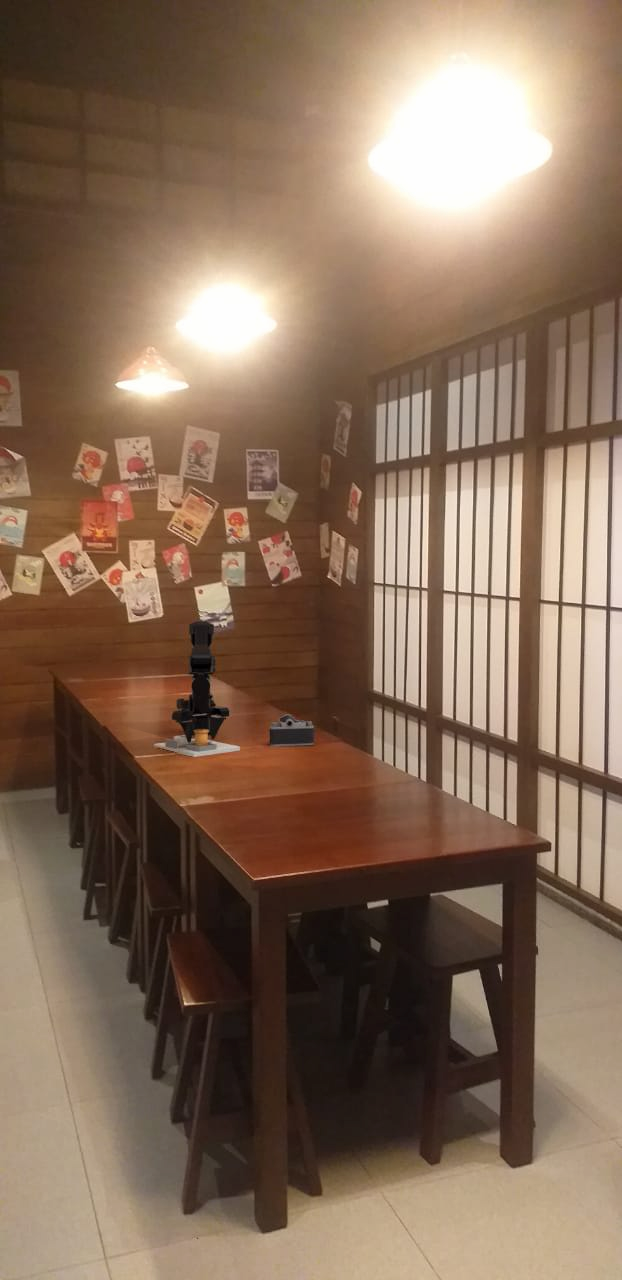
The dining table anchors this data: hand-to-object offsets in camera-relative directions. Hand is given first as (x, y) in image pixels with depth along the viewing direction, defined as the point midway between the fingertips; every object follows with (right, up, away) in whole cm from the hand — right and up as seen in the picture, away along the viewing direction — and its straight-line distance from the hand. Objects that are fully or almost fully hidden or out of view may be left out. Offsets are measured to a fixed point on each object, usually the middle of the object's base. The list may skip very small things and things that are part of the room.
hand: (201, 740), depth 309 cm
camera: (+28, -3, +19) cm, 34 cm away
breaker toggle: (-7, -2, +6) cm, 9 cm away
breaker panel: (-2, -3, +7) cm, 8 cm away
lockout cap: (0, -3, 0) cm, 3 cm away
